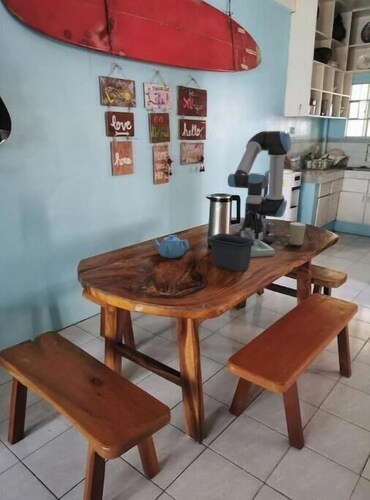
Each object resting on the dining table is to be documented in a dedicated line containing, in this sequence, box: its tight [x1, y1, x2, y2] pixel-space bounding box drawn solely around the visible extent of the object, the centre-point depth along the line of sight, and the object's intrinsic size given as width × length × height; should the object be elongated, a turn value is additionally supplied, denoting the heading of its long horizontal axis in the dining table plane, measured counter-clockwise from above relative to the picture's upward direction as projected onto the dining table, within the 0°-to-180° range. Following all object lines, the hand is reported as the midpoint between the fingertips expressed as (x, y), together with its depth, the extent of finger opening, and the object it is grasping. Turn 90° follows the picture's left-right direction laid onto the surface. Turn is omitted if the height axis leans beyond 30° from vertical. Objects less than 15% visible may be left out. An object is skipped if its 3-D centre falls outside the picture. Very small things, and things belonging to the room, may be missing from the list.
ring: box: [240, 230, 263, 241], centre depth 203 cm, size 11×11×4 cm
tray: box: [250, 240, 276, 258], centre depth 205 cm, size 19×19×3 cm
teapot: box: [152, 234, 190, 259], centre depth 196 cm, size 15×15×11 cm
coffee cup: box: [288, 221, 307, 246], centre depth 220 cm, size 9×9×12 cm
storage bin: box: [208, 232, 255, 272], centre depth 180 cm, size 21×16×14 cm
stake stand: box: [261, 222, 275, 245], centre depth 223 cm, size 8×8×12 cm
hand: (251, 241), depth 204 cm, fingers closed on ring, 11 cm apart
